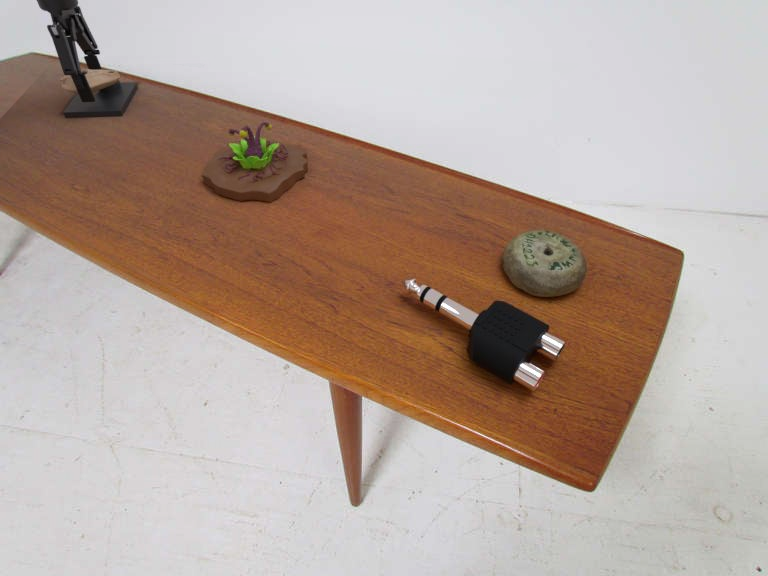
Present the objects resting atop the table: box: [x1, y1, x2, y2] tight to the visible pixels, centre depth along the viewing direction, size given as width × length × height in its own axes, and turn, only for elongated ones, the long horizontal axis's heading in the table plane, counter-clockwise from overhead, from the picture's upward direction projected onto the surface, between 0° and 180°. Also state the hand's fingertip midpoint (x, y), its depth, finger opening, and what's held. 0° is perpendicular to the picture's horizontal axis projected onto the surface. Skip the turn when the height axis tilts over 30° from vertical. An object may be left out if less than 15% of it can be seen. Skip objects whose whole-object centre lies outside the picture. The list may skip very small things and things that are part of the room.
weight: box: [501, 229, 588, 298], centre depth 81 cm, size 14×13×5 cm
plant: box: [201, 121, 309, 203], centre depth 99 cm, size 20×20×11 cm
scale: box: [62, 79, 139, 119], centre depth 123 cm, size 13×16×4 cm
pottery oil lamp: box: [59, 68, 121, 95], centre depth 118 cm, size 9×12×7 cm
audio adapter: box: [401, 278, 567, 392], centre depth 72 cm, size 11×5×25 cm
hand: (95, 92), depth 120 cm, fingers closed on pottery oil lamp, 9 cm apart
